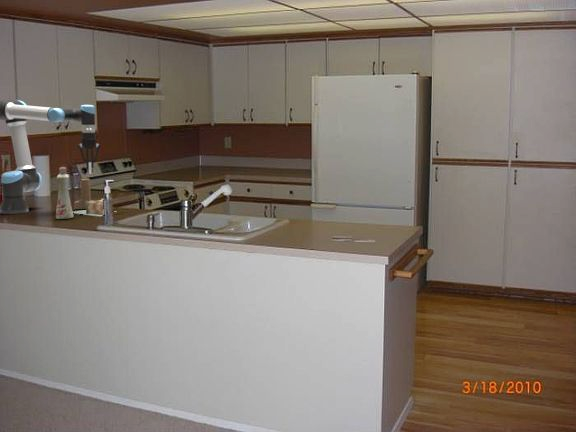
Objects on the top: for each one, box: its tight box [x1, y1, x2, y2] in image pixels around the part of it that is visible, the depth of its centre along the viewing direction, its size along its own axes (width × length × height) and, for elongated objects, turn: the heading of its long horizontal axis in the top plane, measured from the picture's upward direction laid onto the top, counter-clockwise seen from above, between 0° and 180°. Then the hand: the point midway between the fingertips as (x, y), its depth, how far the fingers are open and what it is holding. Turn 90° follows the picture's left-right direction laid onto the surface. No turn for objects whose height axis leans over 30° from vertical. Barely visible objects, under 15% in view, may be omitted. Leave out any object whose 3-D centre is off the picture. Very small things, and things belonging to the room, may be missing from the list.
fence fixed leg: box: [85, 201, 104, 215], centre depth 386 cm, size 14×2×8 cm, turn 56°
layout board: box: [72, 210, 116, 218], centre depth 394 cm, size 17×28×1 cm, turn 56°
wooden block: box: [73, 178, 92, 210], centre depth 410 cm, size 9×4×18 cm, turn 98°
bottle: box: [55, 166, 74, 220], centre depth 373 cm, size 9×9×28 cm
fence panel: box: [90, 198, 104, 203], centre depth 395 cm, size 12×1×7 cm, turn 151°
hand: (90, 173), depth 398 cm, fingers closed
